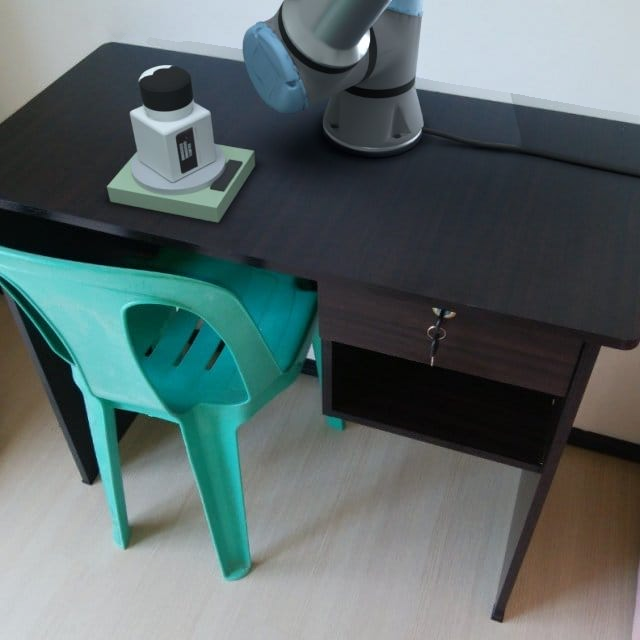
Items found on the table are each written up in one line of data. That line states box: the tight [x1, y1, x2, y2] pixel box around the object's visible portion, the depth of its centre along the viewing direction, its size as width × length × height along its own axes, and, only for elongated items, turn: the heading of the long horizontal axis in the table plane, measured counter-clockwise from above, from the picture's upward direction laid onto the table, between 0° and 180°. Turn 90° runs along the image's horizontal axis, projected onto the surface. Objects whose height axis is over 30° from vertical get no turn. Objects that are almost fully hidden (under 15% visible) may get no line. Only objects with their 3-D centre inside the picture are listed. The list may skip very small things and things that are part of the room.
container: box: [129, 64, 216, 182], centre depth 99 cm, size 8×8×13 cm
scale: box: [106, 142, 256, 223], centre depth 105 cm, size 16×14×4 cm
